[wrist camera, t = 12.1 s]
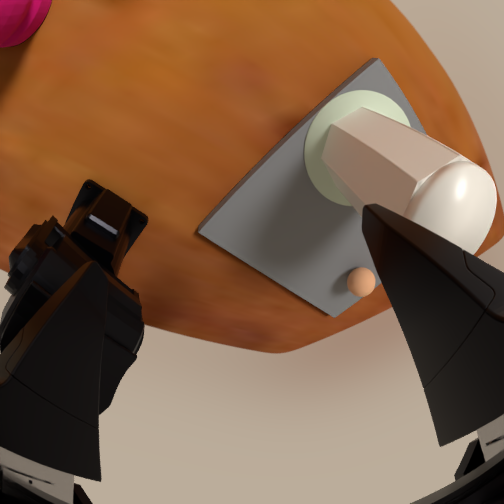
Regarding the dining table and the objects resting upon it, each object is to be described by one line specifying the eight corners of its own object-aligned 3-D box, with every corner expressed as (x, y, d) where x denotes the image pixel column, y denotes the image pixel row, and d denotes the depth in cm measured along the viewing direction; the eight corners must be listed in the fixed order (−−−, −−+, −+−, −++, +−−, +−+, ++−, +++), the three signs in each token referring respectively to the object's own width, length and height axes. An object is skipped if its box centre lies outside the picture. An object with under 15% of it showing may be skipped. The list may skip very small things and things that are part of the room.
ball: (351, 286, 29) (361, 306, 27) (337, 274, 28) (348, 295, 25) (372, 269, 28) (384, 289, 26) (360, 256, 26) (372, 276, 24)
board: (331, 311, 33) (334, 318, 32) (198, 225, 23) (198, 233, 22) (454, 208, 25) (460, 213, 24) (372, 57, 15) (380, 58, 15)
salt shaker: (381, 196, 22) (457, 282, 14) (313, 181, 21) (381, 280, 12) (408, 126, 18) (510, 188, 10) (338, 98, 17) (446, 146, 8)
